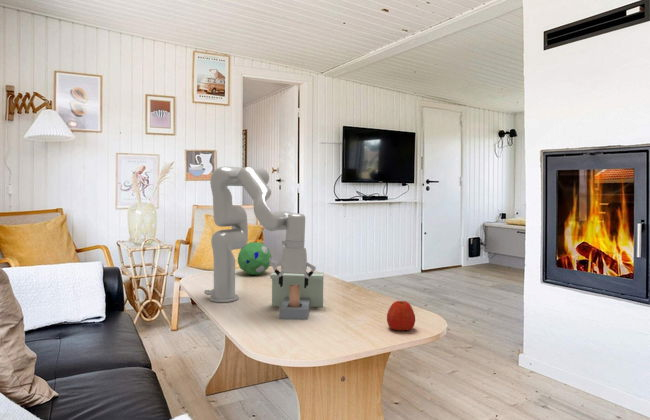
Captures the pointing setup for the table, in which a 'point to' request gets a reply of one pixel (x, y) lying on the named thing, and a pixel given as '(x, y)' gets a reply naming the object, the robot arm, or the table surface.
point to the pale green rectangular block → (311, 291)
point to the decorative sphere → (254, 258)
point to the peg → (294, 295)
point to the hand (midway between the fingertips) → (293, 286)
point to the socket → (294, 309)
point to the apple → (401, 316)
